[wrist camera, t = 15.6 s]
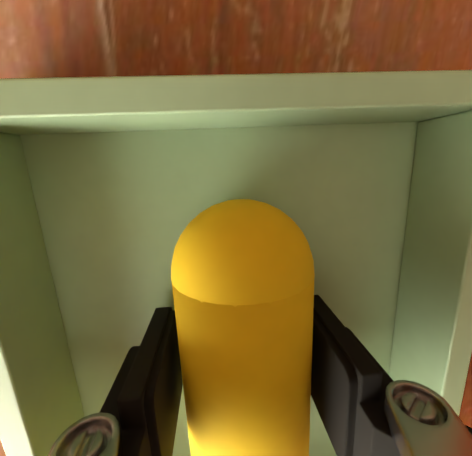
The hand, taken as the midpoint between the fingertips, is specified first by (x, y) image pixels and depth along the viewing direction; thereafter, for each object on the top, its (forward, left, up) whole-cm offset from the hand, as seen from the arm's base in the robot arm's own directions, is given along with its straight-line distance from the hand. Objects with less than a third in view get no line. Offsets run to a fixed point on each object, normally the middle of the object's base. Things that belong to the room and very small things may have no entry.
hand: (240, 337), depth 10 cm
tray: (0, 0, -1) cm, 1 cm away
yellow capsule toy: (0, 0, 0) cm, 0 cm away
